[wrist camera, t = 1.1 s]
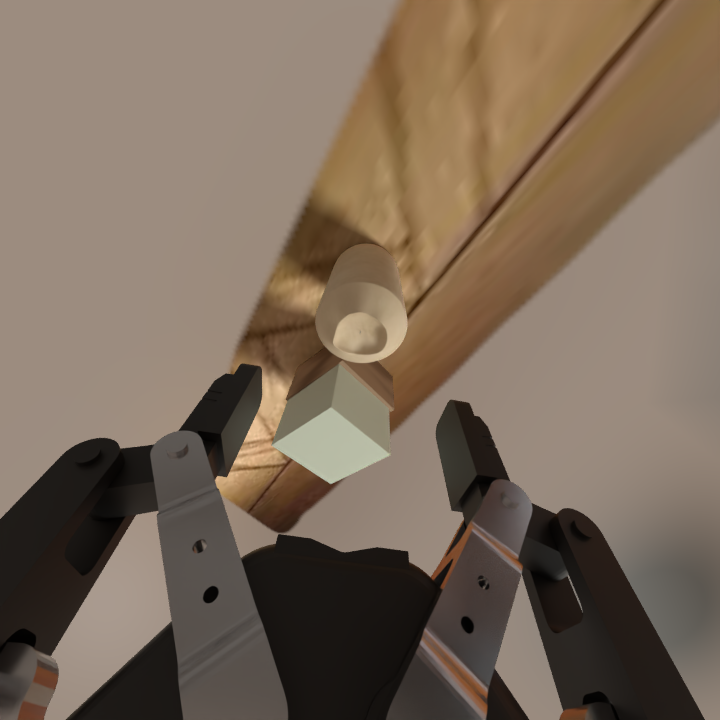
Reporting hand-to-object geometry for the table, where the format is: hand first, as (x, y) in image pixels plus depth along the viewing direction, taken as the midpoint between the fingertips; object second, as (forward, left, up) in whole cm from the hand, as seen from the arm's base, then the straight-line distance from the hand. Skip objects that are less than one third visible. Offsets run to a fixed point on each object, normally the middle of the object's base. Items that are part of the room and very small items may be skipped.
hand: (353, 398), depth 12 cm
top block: (+8, +6, -10) cm, 14 cm away
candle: (0, 0, -15) cm, 15 cm away
